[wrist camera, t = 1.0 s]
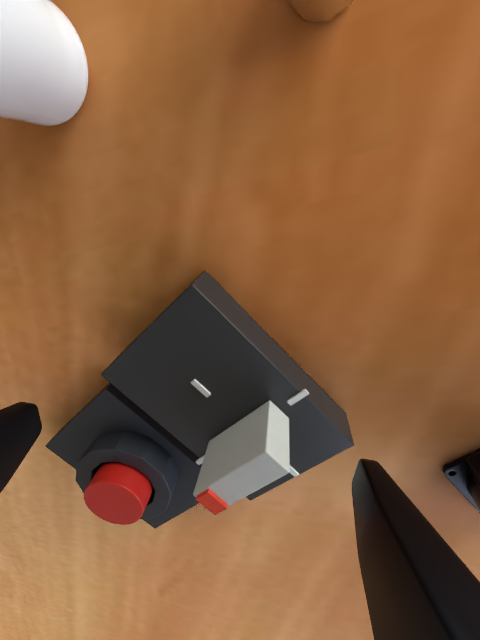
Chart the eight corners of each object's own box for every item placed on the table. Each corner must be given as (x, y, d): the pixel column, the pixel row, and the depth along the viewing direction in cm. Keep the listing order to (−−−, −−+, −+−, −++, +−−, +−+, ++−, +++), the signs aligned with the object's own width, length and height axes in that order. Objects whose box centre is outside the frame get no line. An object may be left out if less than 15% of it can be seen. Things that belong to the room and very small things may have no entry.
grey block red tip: (269, 399, 19) (265, 454, 15) (289, 418, 19) (290, 476, 15) (208, 440, 21) (190, 499, 17) (227, 457, 21) (214, 518, 17)
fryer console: (350, 410, 22) (360, 444, 19) (251, 469, 25) (246, 505, 23) (209, 266, 19) (195, 280, 16) (119, 354, 23) (95, 379, 20)
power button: (164, 488, 23) (155, 510, 22) (129, 510, 25) (119, 532, 23) (118, 451, 22) (105, 472, 21) (86, 477, 24) (71, 498, 22)
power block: (228, 470, 26) (220, 510, 23) (161, 510, 29) (146, 550, 26) (117, 375, 23) (91, 405, 20) (58, 431, 27) (28, 464, 24)
